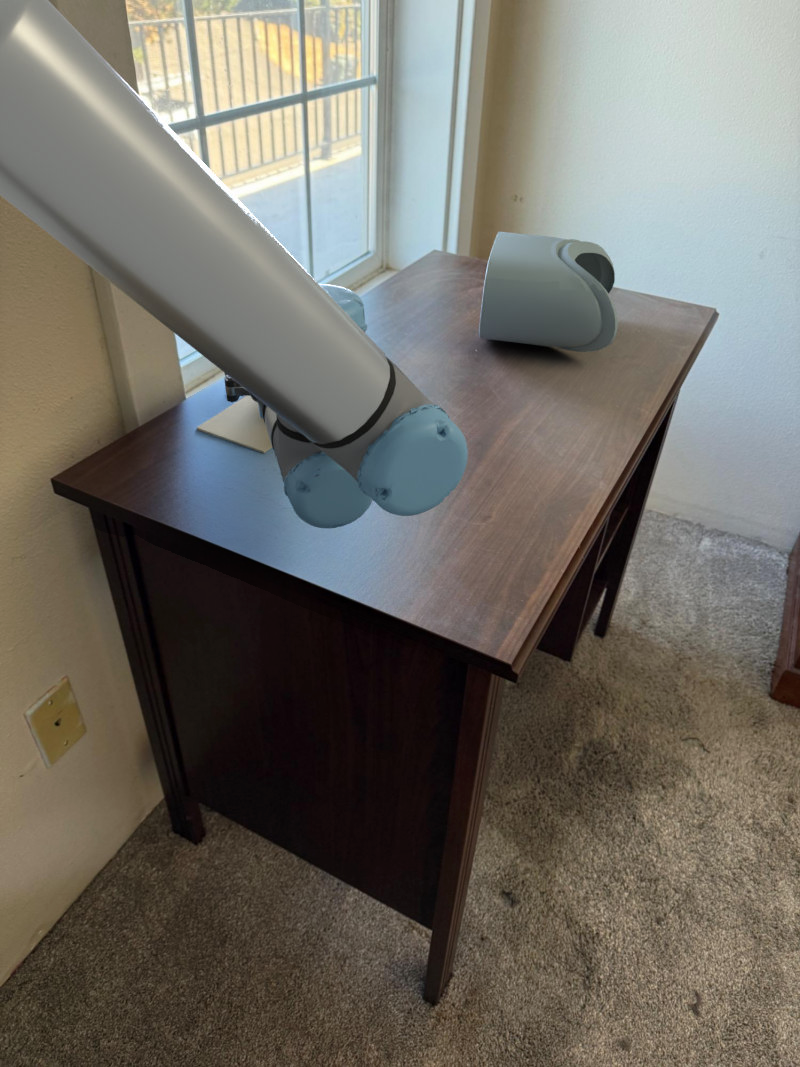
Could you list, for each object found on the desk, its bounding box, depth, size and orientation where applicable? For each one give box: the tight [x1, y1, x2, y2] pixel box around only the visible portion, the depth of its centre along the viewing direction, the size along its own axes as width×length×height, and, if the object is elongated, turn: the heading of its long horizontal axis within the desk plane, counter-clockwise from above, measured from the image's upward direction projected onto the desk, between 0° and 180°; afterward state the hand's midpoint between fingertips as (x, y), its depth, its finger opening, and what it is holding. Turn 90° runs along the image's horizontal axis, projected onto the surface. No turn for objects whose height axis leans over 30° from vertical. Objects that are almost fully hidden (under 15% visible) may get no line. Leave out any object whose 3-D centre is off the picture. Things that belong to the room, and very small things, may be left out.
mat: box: [195, 396, 273, 454], centre depth 93 cm, size 18×10×1 cm, turn 151°
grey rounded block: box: [478, 231, 619, 353], centre depth 111 cm, size 22×19×13 cm
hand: (265, 322), depth 92 cm, fingers closed on ink box, 5 cm apart
